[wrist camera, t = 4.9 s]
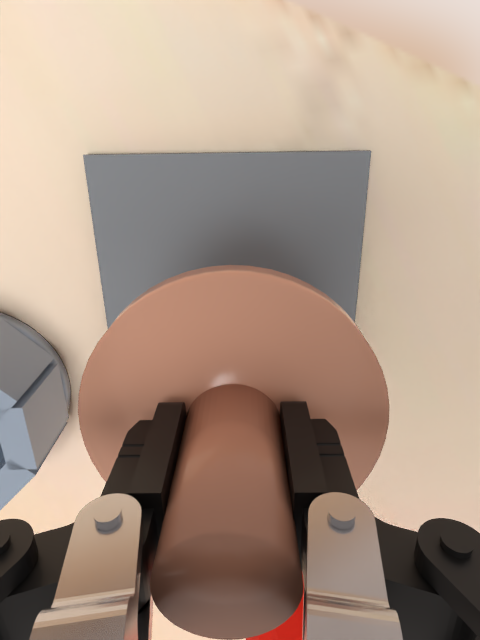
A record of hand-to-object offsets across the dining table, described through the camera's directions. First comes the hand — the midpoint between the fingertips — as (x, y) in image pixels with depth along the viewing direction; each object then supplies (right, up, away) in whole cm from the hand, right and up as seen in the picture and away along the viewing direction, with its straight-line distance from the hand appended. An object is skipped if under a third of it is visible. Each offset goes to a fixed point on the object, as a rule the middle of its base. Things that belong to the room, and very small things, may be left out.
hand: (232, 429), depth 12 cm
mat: (0, +5, +12) cm, 13 cm away
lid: (0, +1, +1) cm, 1 cm away
